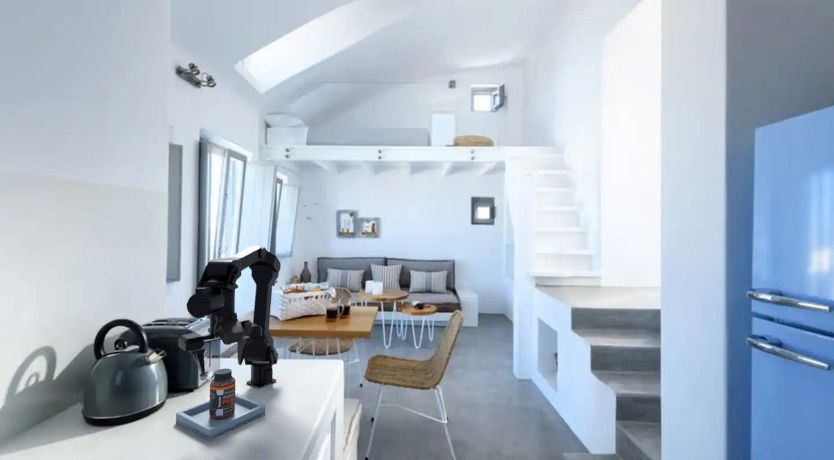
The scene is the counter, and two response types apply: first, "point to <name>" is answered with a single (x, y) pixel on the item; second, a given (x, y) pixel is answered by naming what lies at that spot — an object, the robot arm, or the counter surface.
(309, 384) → the counter surface
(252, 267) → the robot arm
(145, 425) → the counter surface
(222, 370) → the supplement bottle
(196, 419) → the tray
